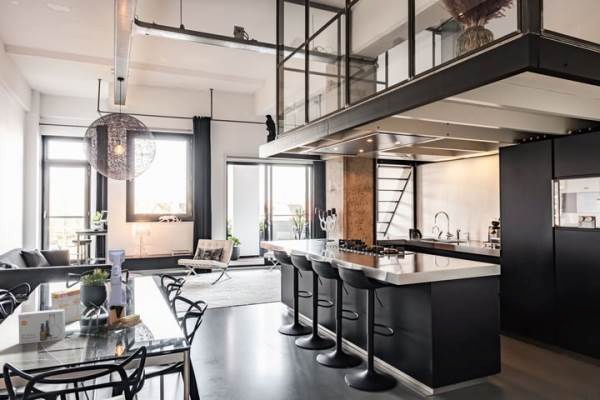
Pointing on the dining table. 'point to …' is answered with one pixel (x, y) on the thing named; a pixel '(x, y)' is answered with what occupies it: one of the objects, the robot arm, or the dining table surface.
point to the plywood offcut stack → (130, 320)
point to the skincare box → (41, 326)
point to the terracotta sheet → (115, 315)
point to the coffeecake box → (68, 304)
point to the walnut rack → (118, 324)
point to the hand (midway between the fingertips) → (117, 317)
